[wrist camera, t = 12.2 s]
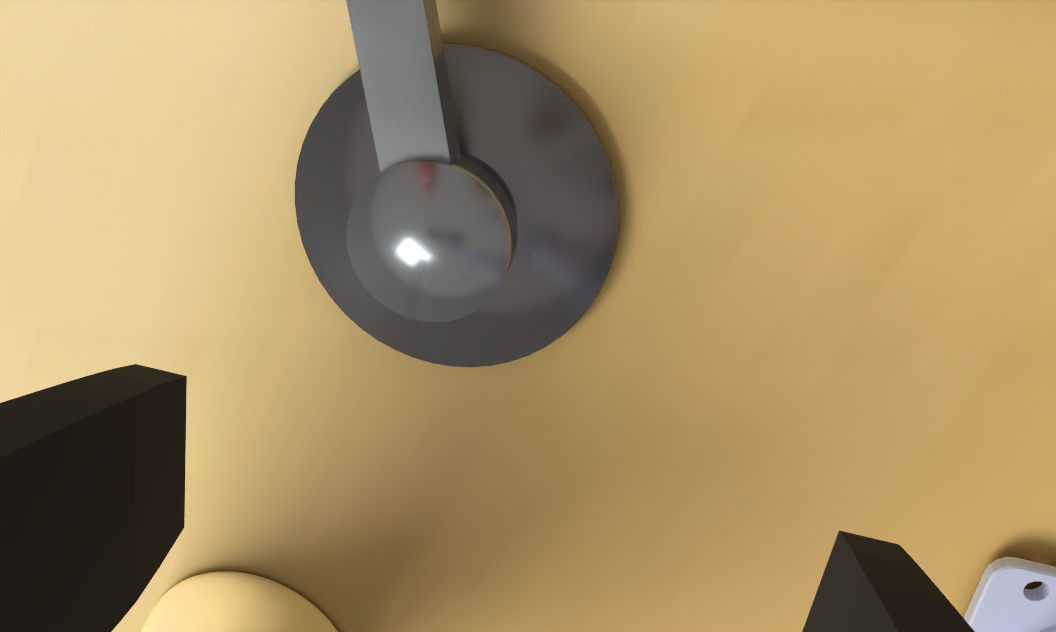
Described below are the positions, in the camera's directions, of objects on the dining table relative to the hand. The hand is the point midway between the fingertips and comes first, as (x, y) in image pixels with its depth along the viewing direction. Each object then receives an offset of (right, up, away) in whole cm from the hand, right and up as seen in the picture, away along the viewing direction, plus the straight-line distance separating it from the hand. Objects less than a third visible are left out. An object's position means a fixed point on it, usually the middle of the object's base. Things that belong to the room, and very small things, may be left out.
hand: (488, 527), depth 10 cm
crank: (-2, +7, +8) cm, 10 cm away
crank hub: (-1, +5, +10) cm, 11 cm away
